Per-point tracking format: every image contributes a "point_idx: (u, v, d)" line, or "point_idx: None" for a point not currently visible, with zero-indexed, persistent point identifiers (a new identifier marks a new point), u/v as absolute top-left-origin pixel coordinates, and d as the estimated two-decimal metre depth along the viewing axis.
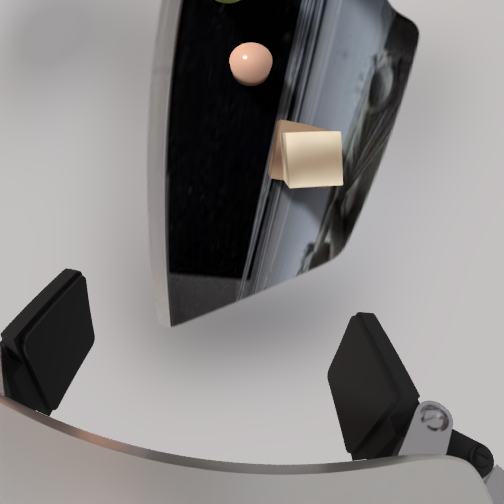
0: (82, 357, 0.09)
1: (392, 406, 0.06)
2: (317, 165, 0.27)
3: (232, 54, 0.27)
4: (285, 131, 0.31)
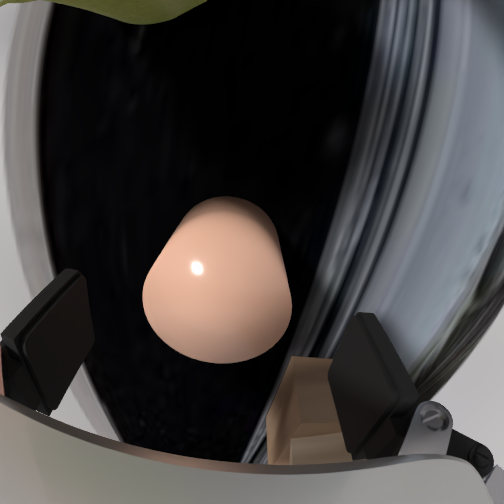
0: (82, 357, 0.09)
1: (392, 406, 0.06)
2: None
3: (148, 286, 0.09)
4: (307, 435, 0.13)
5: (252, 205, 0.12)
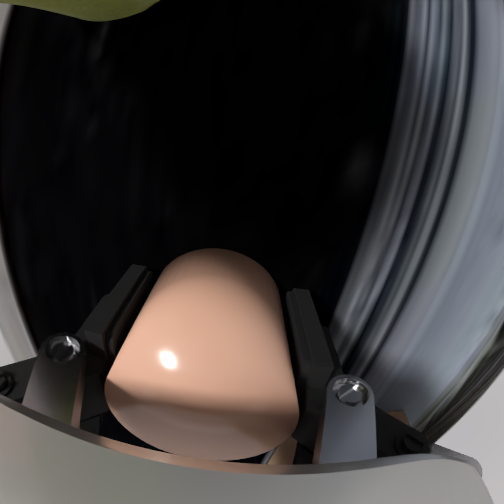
0: None
1: (306, 375, 0.07)
2: None
3: (110, 389, 0.06)
4: None
5: (247, 262, 0.10)
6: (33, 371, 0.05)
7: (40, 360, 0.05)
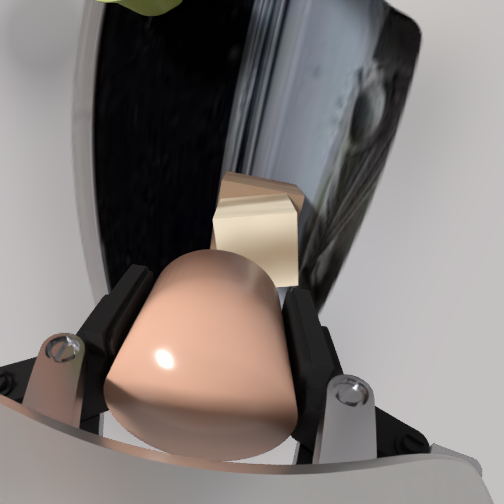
0: None
1: (306, 375, 0.07)
2: (260, 262, 0.20)
3: (109, 390, 0.06)
4: (228, 196, 0.24)
5: (246, 263, 0.10)
6: (33, 371, 0.05)
7: (40, 360, 0.05)
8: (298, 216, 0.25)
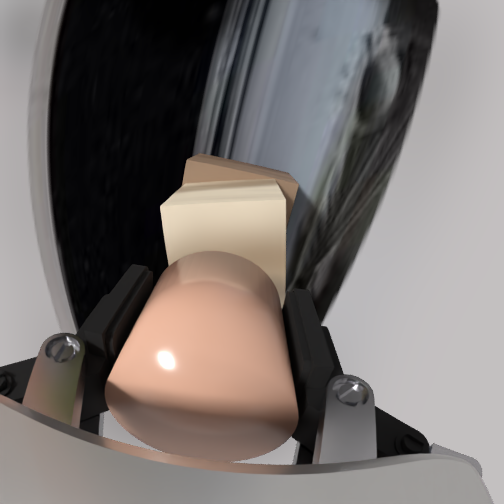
0: None
1: (306, 375, 0.07)
2: None
3: (110, 392, 0.06)
4: (194, 182, 0.17)
5: (247, 264, 0.10)
6: (33, 371, 0.05)
7: (40, 360, 0.05)
8: (289, 211, 0.18)
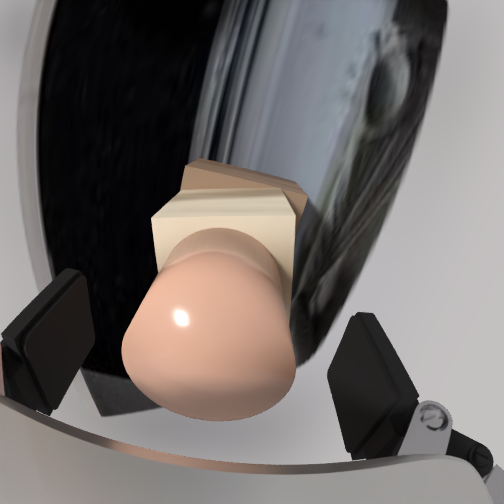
0: (82, 357, 0.09)
1: (391, 406, 0.06)
2: None
3: (127, 345, 0.07)
4: None
5: (249, 239, 0.11)
6: None
7: None
8: (296, 225, 0.17)
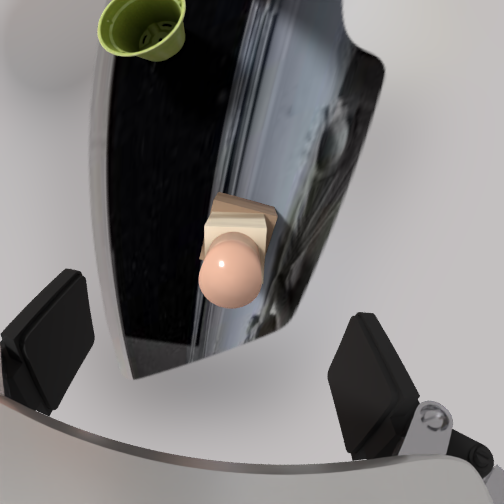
0: (82, 357, 0.09)
1: (392, 406, 0.06)
2: None
3: (203, 269, 0.22)
4: None
5: (247, 237, 0.26)
6: None
7: None
8: (271, 232, 0.32)
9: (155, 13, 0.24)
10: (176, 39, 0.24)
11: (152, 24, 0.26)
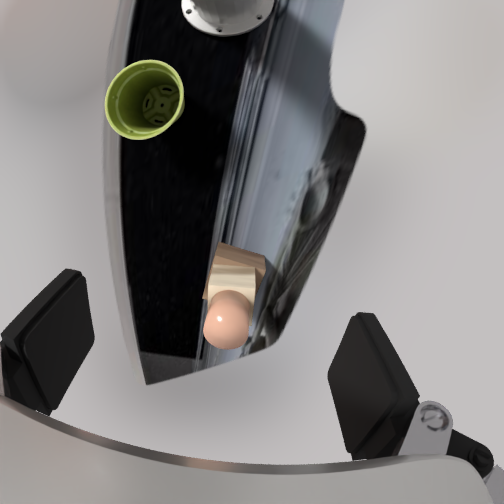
0: (82, 357, 0.09)
1: (392, 406, 0.06)
2: None
3: (206, 325, 0.30)
4: None
5: (240, 294, 0.34)
6: None
7: None
8: (260, 281, 0.40)
9: (155, 80, 0.31)
10: None
11: (153, 88, 0.33)
